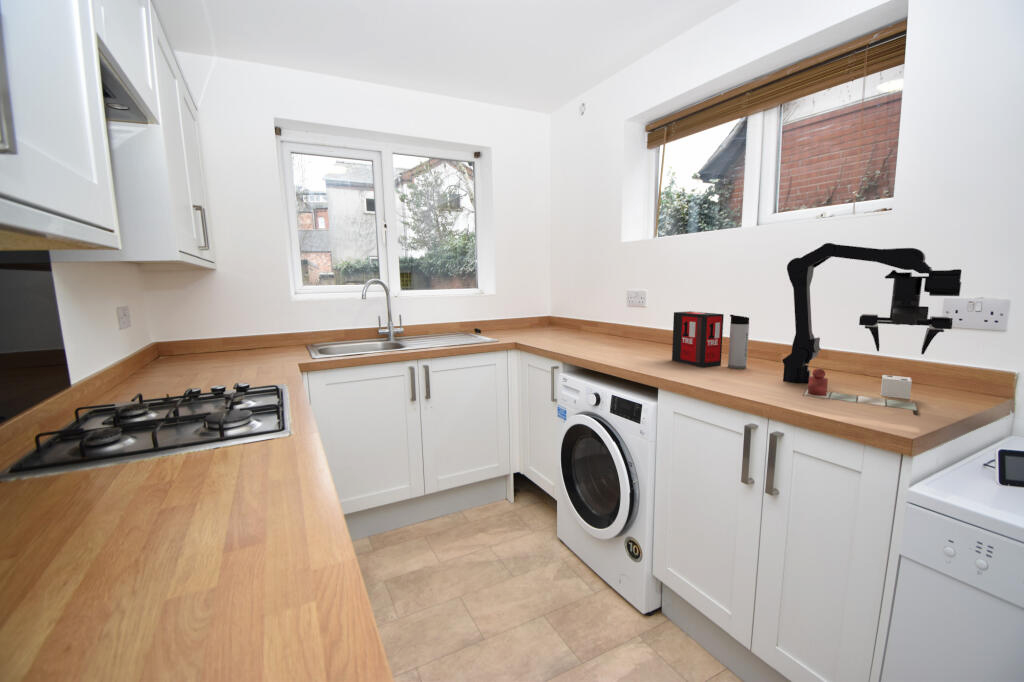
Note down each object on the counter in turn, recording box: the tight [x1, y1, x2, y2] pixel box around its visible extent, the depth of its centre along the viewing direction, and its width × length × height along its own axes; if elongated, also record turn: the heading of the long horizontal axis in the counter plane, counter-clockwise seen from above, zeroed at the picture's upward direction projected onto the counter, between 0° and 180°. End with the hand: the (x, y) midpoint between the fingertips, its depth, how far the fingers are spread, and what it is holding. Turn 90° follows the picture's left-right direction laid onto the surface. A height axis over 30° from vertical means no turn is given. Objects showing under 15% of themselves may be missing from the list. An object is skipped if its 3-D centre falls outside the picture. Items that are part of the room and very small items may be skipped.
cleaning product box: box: [671, 311, 725, 369], centre depth 176 cm, size 16×9×20 cm, turn 24°
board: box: [802, 388, 919, 416], centre depth 120 cm, size 24×9×1 cm, turn 51°
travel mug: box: [727, 314, 750, 370], centre depth 167 cm, size 6×7×20 cm
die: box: [880, 374, 913, 400], centre depth 123 cm, size 6×6×6 cm
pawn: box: [807, 367, 829, 396], centre depth 125 cm, size 4×4×7 cm
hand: (899, 352), depth 122 cm, fingers open, 9 cm apart
